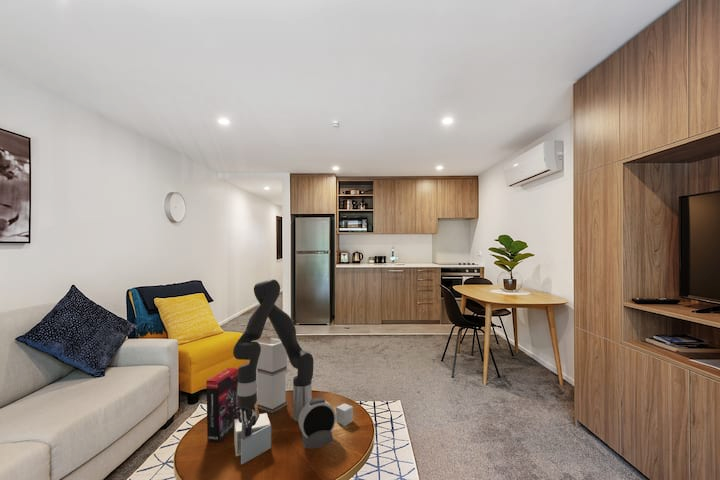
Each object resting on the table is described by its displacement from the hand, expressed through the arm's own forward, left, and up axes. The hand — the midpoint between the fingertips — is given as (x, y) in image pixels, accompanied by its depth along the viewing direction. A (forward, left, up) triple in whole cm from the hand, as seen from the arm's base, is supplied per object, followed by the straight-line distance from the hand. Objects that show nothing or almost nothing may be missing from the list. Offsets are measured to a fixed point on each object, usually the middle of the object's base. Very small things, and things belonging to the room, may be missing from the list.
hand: (246, 434), depth 133 cm
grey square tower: (-17, -44, -11) cm, 49 cm away
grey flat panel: (-4, -2, -10) cm, 11 cm away
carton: (-3, -11, -11) cm, 16 cm away
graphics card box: (+8, -27, -11) cm, 31 cm away
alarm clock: (-30, -2, -11) cm, 32 cm away
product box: (-47, -12, -11) cm, 50 cm away
